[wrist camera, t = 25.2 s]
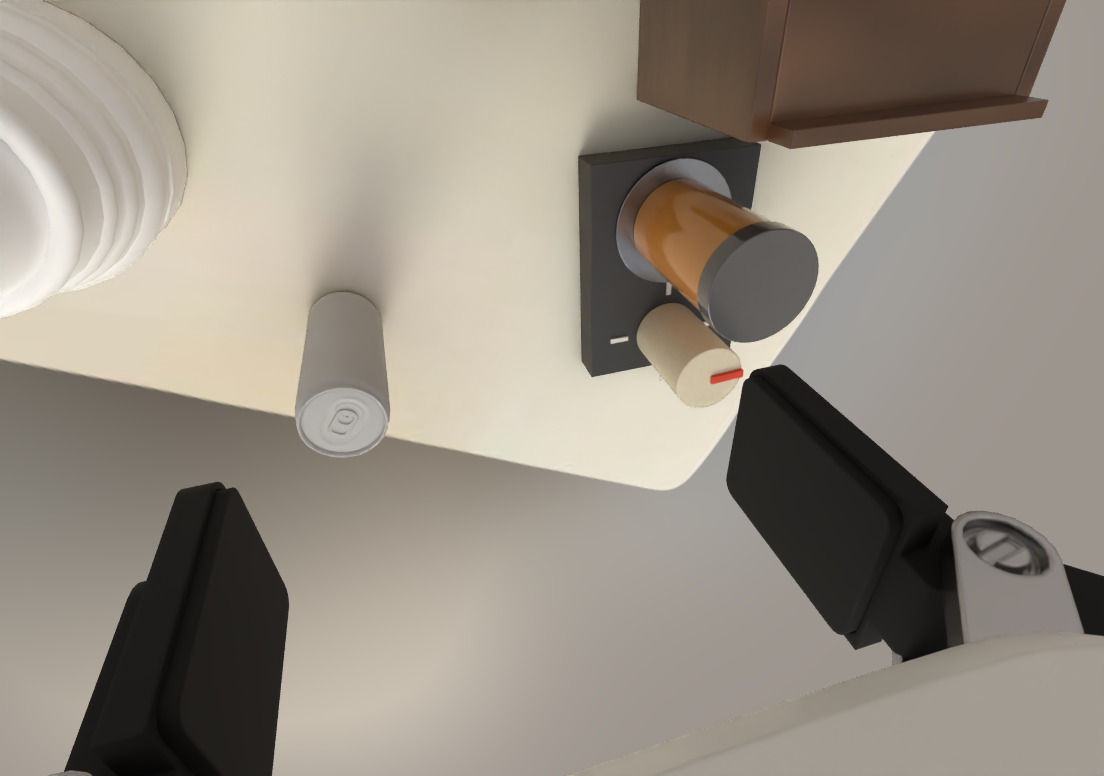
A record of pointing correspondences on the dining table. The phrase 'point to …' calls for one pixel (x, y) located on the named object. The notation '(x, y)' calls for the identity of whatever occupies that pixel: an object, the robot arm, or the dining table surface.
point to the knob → (688, 355)
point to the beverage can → (343, 377)
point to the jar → (726, 259)
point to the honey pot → (77, 156)
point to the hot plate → (605, 281)
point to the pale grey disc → (638, 195)
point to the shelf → (843, 65)
